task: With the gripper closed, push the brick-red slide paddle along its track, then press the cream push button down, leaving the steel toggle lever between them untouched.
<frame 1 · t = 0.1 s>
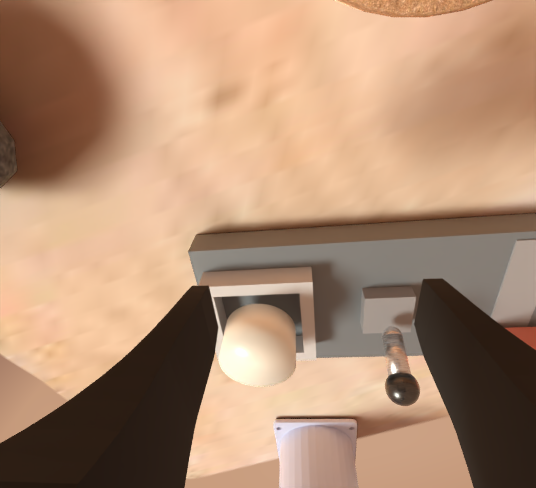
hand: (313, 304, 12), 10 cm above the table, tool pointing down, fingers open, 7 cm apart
push button: (258, 345, 20), point 5 cm above the table, slide at 0.0 cm
toggle lever: (399, 374, 19), point 6 cm above the table, hinge at -25.0°
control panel: (378, 285, 24), on the table
slide paddle: (521, 359, 21), point 4 cm above the table, slide at 0.0 cm
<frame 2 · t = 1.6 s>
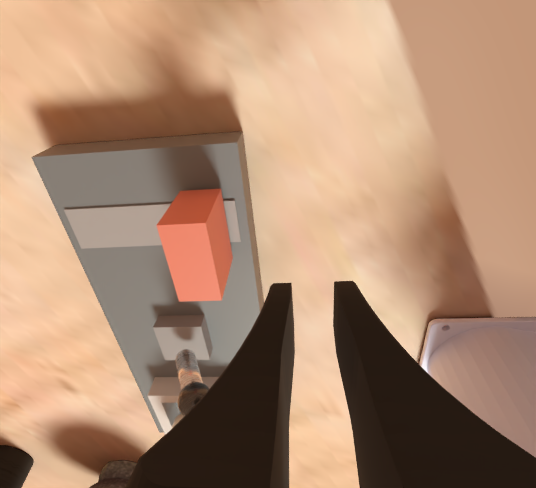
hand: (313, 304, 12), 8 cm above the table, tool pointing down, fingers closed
push button: (199, 445, 24), point 5 cm above the table, slide at 0.0 cm
mortar and pestle: (135, 474, 38), on the table
toggle lever: (192, 389, 18), point 6 cm above the table, hinge at -25.0°
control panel: (193, 310, 24), on the table
slide paddle: (200, 244, 16), point 4 cm above the table, slide at 0.0 cm
drinking cup: (12, 454, 37), on the table
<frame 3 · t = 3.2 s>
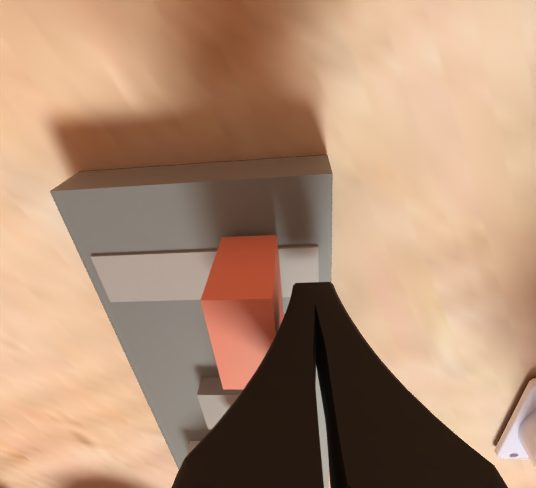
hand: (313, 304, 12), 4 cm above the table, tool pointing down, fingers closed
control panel: (239, 363, 20), on the table
slide paddle: (250, 310, 12), point 4 cm above the table, slide at 1.0 cm, touching gripper
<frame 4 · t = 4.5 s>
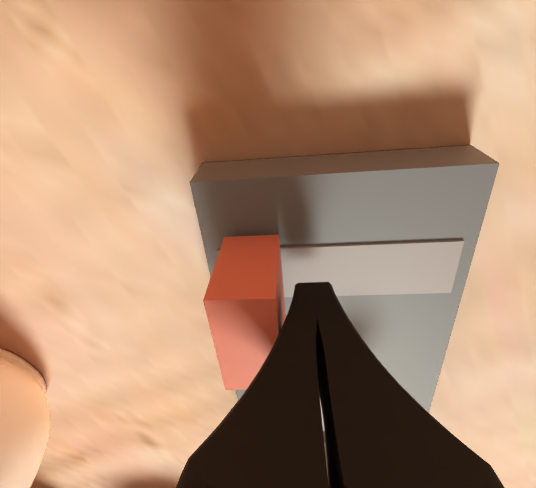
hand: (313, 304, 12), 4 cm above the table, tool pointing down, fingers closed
lidded jar: (0, 372, 22), on the table
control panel: (329, 363, 19), on the table
slide paddle: (253, 310, 12), point 4 cm above the table, slide at 6.1 cm, touching gripper
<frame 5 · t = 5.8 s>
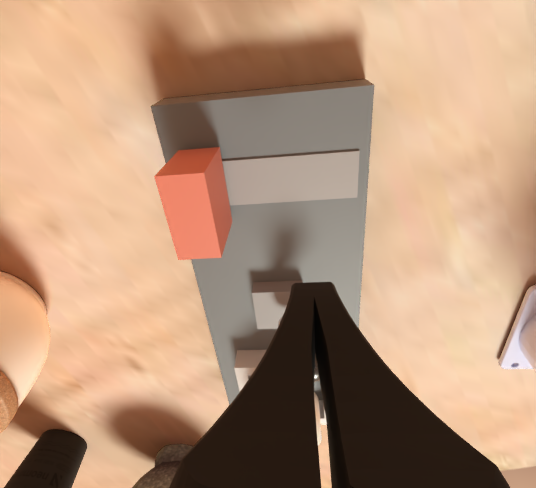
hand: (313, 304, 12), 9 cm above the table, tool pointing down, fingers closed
push button: (287, 418, 23), point 5 cm above the table, slide at 0.0 cm
lidded jar: (7, 299, 26), on the table
mortar and pestle: (190, 459, 38), on the table
toggle lever: (305, 352, 18), point 6 cm above the table, hinge at -25.0°
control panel: (280, 280, 23), on the table
slide paddle: (199, 202, 16), point 4 cm above the table, slide at 6.1 cm
drinking cup: (66, 439, 37), on the table
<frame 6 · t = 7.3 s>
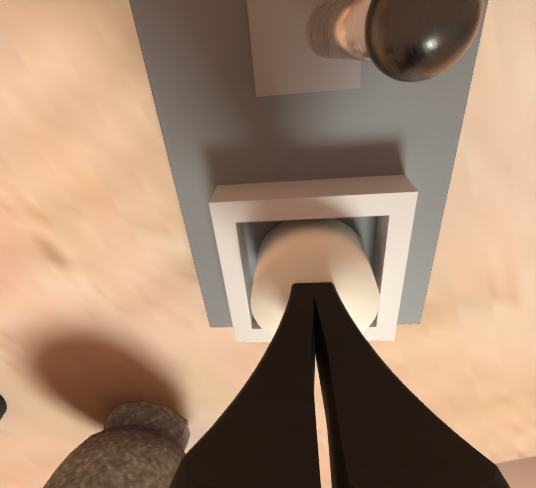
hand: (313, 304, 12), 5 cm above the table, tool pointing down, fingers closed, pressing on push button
push button: (312, 282, 13), point 4 cm above the table, slide at 1.4 cm, touching gripper
mortar and pestle: (157, 427, 26), on the table
toggle lever: (392, 25, 6), point 6 cm above the table, hinge at -25.0°
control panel: (302, 31, 12), on the table
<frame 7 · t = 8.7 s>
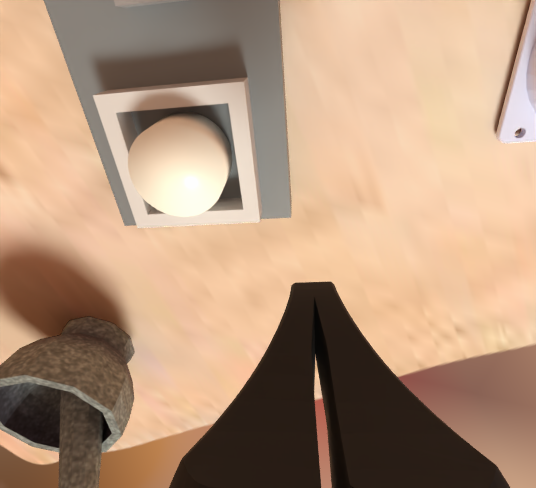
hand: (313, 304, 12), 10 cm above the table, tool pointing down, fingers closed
push button: (183, 164, 16), point 4 cm above the table, slide at 1.5 cm
mortar and pestle: (106, 345, 30), on the table
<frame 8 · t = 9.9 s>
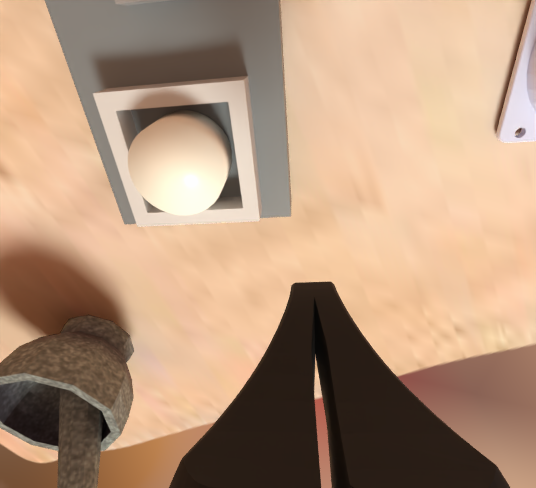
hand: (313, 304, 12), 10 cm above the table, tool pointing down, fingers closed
push button: (183, 163, 16), point 4 cm above the table, slide at 1.5 cm
mortar and pestle: (105, 344, 30), on the table
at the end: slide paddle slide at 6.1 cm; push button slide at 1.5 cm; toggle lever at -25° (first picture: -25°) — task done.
